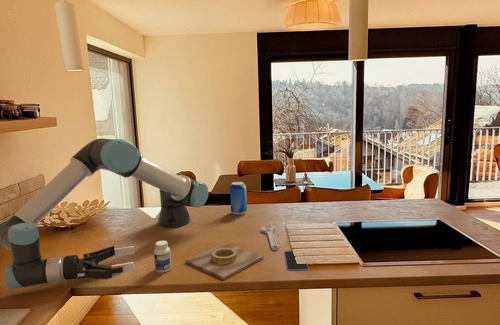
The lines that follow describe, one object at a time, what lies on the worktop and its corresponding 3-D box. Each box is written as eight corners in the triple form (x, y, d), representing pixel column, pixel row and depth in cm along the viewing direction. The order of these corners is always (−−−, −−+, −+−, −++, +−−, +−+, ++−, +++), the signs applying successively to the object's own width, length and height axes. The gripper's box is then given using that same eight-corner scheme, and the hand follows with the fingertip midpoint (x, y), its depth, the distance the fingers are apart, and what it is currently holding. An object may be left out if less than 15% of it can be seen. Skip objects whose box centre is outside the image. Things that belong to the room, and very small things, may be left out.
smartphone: (303, 250, 130) (309, 269, 116) (303, 252, 131) (308, 271, 116) (283, 250, 131) (287, 269, 116) (283, 252, 131) (287, 271, 116)
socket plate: (185, 262, 124) (185, 254, 124) (225, 245, 139) (225, 238, 138) (223, 280, 111) (223, 271, 110) (263, 258, 125) (263, 250, 125)
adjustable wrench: (279, 251, 132) (279, 247, 132) (262, 252, 132) (262, 248, 132) (274, 228, 157) (274, 224, 157) (260, 228, 157) (260, 225, 157)
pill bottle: (157, 266, 122) (154, 240, 120) (172, 265, 122) (170, 239, 121) (154, 273, 117) (151, 246, 115) (170, 272, 117) (168, 245, 116)
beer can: (249, 210, 183) (248, 181, 180) (243, 215, 175) (242, 185, 172) (234, 209, 185) (233, 180, 183) (228, 214, 178) (227, 184, 175)
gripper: (72, 262, 122) (135, 253, 128) (56, 299, 98) (134, 285, 105) (70, 242, 121) (133, 234, 127) (53, 275, 97) (132, 262, 103)
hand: (134, 257), depth 116 cm, fingers open, 13 cm apart
